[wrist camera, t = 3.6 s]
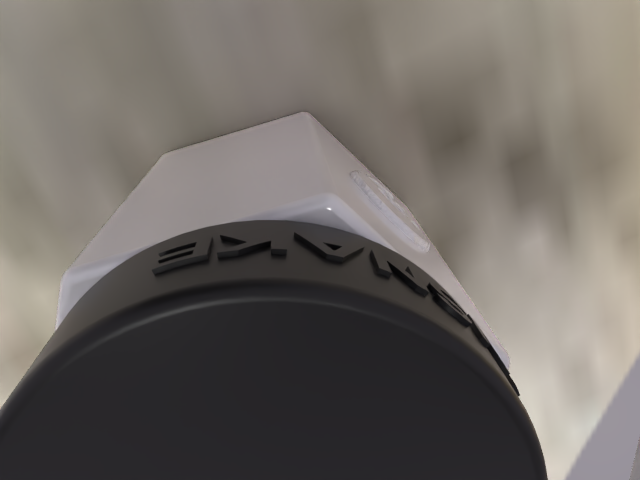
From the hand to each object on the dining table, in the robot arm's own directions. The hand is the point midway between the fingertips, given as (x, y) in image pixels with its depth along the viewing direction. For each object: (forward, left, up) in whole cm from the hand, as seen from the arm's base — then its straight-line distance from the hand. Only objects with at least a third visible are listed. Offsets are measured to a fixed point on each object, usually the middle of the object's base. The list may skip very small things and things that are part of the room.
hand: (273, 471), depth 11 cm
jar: (0, 0, -10) cm, 10 cm away
